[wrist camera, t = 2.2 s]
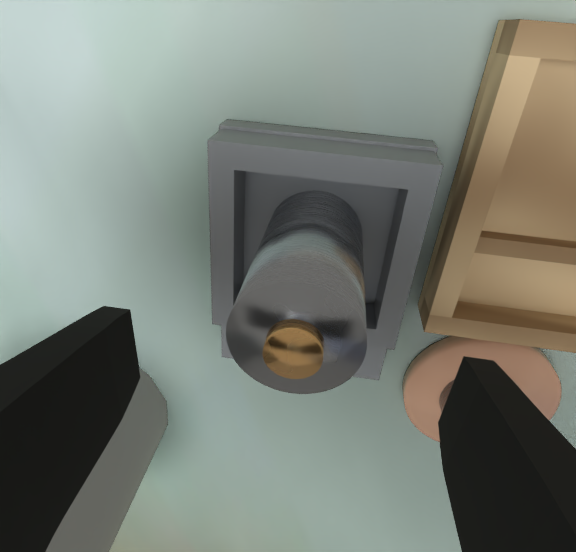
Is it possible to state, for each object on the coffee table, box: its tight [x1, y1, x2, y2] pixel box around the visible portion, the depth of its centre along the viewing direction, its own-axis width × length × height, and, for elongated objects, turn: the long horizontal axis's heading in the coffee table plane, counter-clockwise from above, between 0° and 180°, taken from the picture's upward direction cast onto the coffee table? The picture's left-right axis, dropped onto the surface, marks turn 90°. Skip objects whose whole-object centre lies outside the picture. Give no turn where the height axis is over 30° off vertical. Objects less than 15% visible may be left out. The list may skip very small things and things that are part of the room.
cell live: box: [226, 190, 367, 394], centre depth 12 cm, size 3×3×6 cm
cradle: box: [207, 119, 443, 380], centre depth 16 cm, size 10×7×3 cm
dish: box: [403, 336, 561, 442], centre depth 19 cm, size 6×6×1 cm
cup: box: [46, 368, 168, 552], centre depth 19 cm, size 8×8×10 cm
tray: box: [418, 19, 576, 353], centre depth 14 cm, size 10×7×2 cm
